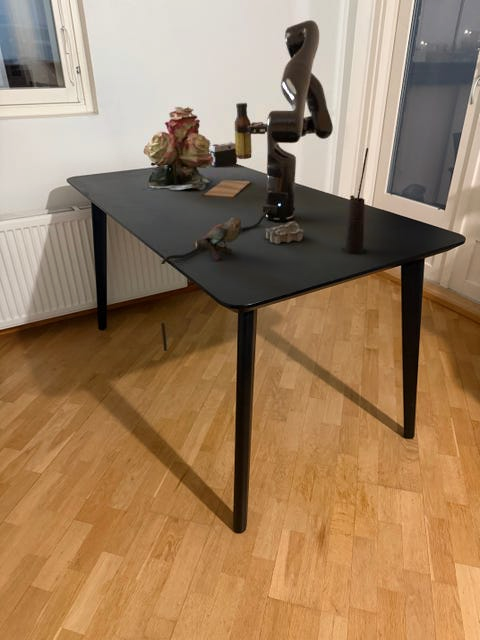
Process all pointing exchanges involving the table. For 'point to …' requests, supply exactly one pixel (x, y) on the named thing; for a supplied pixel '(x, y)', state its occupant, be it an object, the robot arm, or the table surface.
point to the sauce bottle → (242, 138)
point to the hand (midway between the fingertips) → (237, 128)
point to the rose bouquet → (179, 153)
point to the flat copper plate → (227, 188)
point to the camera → (223, 154)
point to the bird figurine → (220, 237)
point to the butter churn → (356, 221)
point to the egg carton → (284, 233)
